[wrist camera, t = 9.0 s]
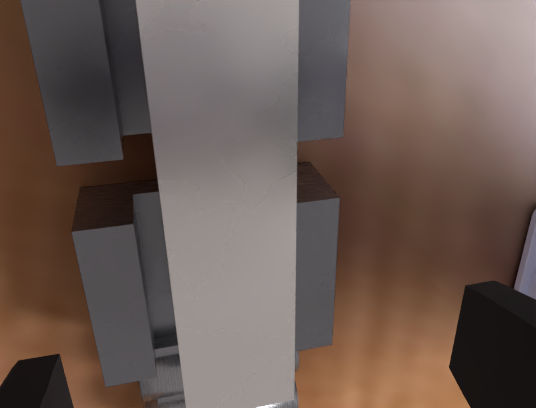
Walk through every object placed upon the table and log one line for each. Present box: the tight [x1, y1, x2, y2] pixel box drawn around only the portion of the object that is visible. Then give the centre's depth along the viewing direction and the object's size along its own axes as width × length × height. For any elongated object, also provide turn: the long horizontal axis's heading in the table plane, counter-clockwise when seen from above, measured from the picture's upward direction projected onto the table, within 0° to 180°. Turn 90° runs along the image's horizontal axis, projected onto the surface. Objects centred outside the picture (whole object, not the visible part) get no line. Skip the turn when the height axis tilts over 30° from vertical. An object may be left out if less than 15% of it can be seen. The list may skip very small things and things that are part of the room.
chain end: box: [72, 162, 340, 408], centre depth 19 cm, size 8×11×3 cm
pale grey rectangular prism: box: [135, 0, 299, 408], centre depth 14 cm, size 3×11×6 cm, turn 0°
